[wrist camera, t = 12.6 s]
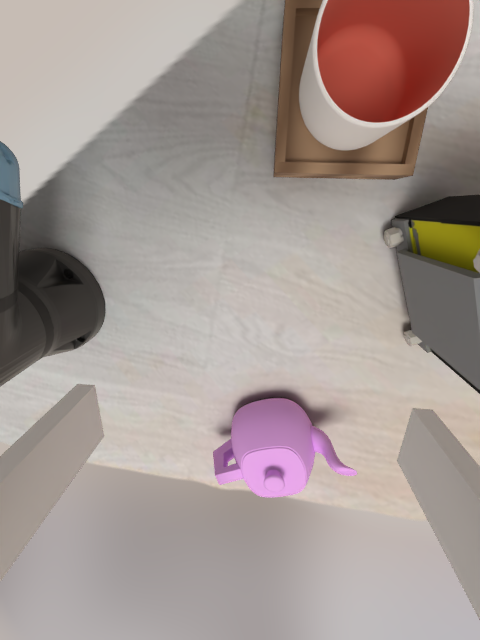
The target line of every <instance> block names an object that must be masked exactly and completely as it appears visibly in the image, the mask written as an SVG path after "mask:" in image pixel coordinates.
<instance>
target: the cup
mask: <svg viewBox="0 0 480 640" xmlns="http://www.w3.org/2000/svg"><path fill="white" fill-rule="evenodd" d="M472 22H473V0H323V1H322V4H321V6H320V9H319V12H318V15H317V19H316V23H315V26H314V30H313V34H312V38H311V42H310V45H309V49H308V53H307V57H306V60H305V64H304V68H303V72H302V76H301V80H300V87H299V104H300V110H301V114H302V118H303V120H304V123H305V125H306V127H307V129H308V130H309V132H310V133H311V134H312V135H313V137H314V138H315V139H317V140H318V141H319V142H320V143H322V144H323V145H325V146H327V147H329V148H332V149H336V150H355V149H359V148H362V147H365V146H367V145H369V144H371V143H373V142H375V141H376V140H378V139H379V138H381V137H383V136H384V135H386V134H387V133H389V132H391V131H392V130H394V129H395V128H397V127H399V126H400V125H402V124H403V123H405V122H407V121H408V120H410V119H411V118H413V117H415V116H416V115H418V114H419V113H421V112H422V111H423V110H425V109H426V108H427V107H428V106H429V105H431V104H432V103H433V102H434V101H435V100H436V99H437V98H438V97H439V95H440V94H441V93H442V92H443V91H444V90H445V88H446V87H447V86H448V84H449V83H450V81H451V80H452V78H453V77H454V75H455V73H456V71H457V69H458V67H459V65H460V63H461V61H462V59H463V57H464V54H465V52H466V48H467V45H468V42H469V38H470V34H471V29H472Z"/></svg>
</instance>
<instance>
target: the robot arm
mask: <svg viewBox="0 0 480 640" xmlns="http://www.w3.org/2000/svg"><path fill="white" fill-rule="evenodd" d="M21 208H23V202H22V201H21V198H20V177H19V164H18V161H17V159H16V157H15V155H14V154H13V152H12V151H11V150H10V149H9V148H8V147H7V146H6V145H5V144H3V143H2V142H1V141H0V386H2V385H3V384H4V383H6V382H7V381H9V380H10V379H12V378H13V377H15V376H16V375H18V374H19V373H20V372H22V371H23V370H25V369H26V368H28V367H29V366H31V365H32V364H33V363H35V362H36V361H38V360H39V359H41V358H42V357H46V356H50V355H55V354H59V353H63V352H67V351H71V350H74V349H76V348H79V347H81V346H82V345H84V344H85V343H86V342H88V341H89V340H91V339H92V338H93V337H94V336H95V335H96V334H97V333H98V332H99V330H100V328H101V326H102V324H103V321H104V316H105V304H104V298H103V295H102V292H101V289H100V287H99V285H98V283H97V281H96V280H95V278H94V277H93V276H92V274H91V273H90V272H89V271H88V270H87V268H86V267H85V266H83V265H82V264H81V263H80V262H79V261H77V260H76V259H75V258H73V257H71V256H70V255H68V254H66V253H63V252H61V251H58V250H54V249H49V248H35V249H29V250H24V251H20V252H19V238H20V216H21ZM103 437H104V432H103V427H102V422H101V416H100V411H99V406H98V400H97V395H96V390H95V385H83V384H77V385H76V386H75V387H74V388H73V389H72V390H71V391H70V392H69V393H68V394H66V395H65V396H64V397H63V398H62V399H61V400H60V401H59V402H58V403H57V404H56V405H55V406H54V407H53V408H51V409H50V410H49V411H48V412H47V413H46V414H45V415H44V416H43V417H42V418H41V419H40V420H39V421H38V422H36V423H35V424H34V425H33V426H32V427H31V428H30V429H29V430H28V431H27V432H26V433H25V434H24V435H23V436H21V437H20V438H19V439H18V440H17V441H16V442H15V443H14V444H13V445H12V446H11V447H10V448H9V449H8V450H6V451H5V452H4V454H2V455H1V456H0V582H1V580H2V579H3V577H4V576H5V574H6V573H7V572H8V570H9V569H10V567H11V566H12V565H13V563H14V562H15V561H16V559H17V558H18V556H19V555H20V553H21V552H22V551H23V549H24V548H25V546H26V545H27V544H28V542H29V541H30V539H31V538H32V537H33V535H34V534H35V532H36V531H37V530H38V528H39V527H40V525H41V524H42V522H43V521H44V520H45V518H46V517H47V516H48V514H49V513H50V511H51V510H52V508H53V507H54V506H55V504H56V503H57V501H58V500H59V499H60V497H61V496H62V494H63V493H64V492H65V490H66V489H67V487H68V486H69V484H70V483H71V482H72V480H73V479H74V478H75V476H76V474H77V473H78V472H79V470H80V469H81V467H82V466H83V465H84V463H85V462H86V461H87V459H88V458H89V456H90V455H91V454H92V452H93V451H94V449H95V448H96V447H97V445H98V444H99V442H100V441H101V440H102V438H103ZM397 462H398V464H399V465H400V467H401V469H402V471H403V473H404V475H405V477H406V479H407V481H408V483H409V485H410V487H411V489H412V491H413V492H414V494H415V496H416V498H417V500H418V502H419V504H420V506H421V508H422V510H423V512H424V514H425V516H426V517H427V519H428V521H429V523H430V525H431V527H432V529H433V531H434V533H435V535H436V537H437V539H438V541H439V543H440V544H441V546H442V548H443V550H444V552H445V554H446V556H447V558H448V560H449V562H450V564H451V566H452V568H453V569H454V571H455V573H456V575H457V577H458V579H459V581H460V583H461V585H462V587H463V589H464V591H465V592H466V595H467V596H468V598H469V600H470V602H471V604H472V606H473V608H474V610H475V612H476V614H477V616H478V617H479V620H480V466H479V465H478V464H477V463H476V462H475V460H474V459H473V458H472V457H471V456H470V454H469V453H468V452H467V451H466V450H465V448H464V447H463V446H462V445H461V443H460V442H459V441H458V440H457V439H456V437H455V436H454V435H453V434H452V433H451V431H450V430H449V429H448V428H447V427H446V425H445V424H444V423H443V422H442V420H441V419H440V418H439V417H438V416H437V414H436V413H435V412H434V411H433V410H428V409H415V408H413V409H412V412H411V415H410V419H409V422H408V425H407V429H406V432H405V435H404V439H403V442H402V446H401V449H400V452H399V456H398V459H397Z"/></svg>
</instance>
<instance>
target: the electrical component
mask: <svg viewBox="0 0 480 640" xmlns="http://www.w3.org/2000/svg"><path fill="white" fill-rule="evenodd" d="M395 218H396V219H393V220H391V222H392V227H393V228H390V229H388V230H386V231H385V232H384V241H385V244H386V245H387V246H388V247H389V248H393V247H396V248H397V257H398V262H399V267H400V272H401V277H402V282H403V287H404V293H405V298H406V303H407V308H408V313H409V318H410V323H411V328H412V330H409V331H406V332H404V338H405V341H406V342H407V344H408V345H409V346H412V345H416V344H418V345H419V346H420V347H422V348H423V349H424V350H425V351H426V352H427V353H428V352H432V353H433V354H435V355H436V356H437V357H438V358H439V359H440V360H441V361H443V362H444V363H445V364H446V365H447V366H448V367H449V368H451V369H452V370H453V371H454V372H455V373H456V374H458V375H459V376H460V377H461V378H462V379H463V380H464V381H466V382H467V383H468V384H469V385H470V386H471V387H472V388H474V389H475V390H476V391H477V392H478V393H479V394H480V195H468V196H453V197H447V198H445V199H442V200H439V201H436V202H433V203H431V204H428V205H425V206H422V207H420V208H417V209H414V210H411V211H409V212H406V213H403V214H400V215H398V216H395Z"/></svg>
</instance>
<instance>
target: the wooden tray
mask: <svg viewBox="0 0 480 640" xmlns="http://www.w3.org/2000/svg"><path fill="white" fill-rule="evenodd" d="M322 1H323V0H285V9H284V20H283V34H282V50H281V66H280V82H279V98H278V114H277V130H276V146H275V162H274V177H299V178H346V179H393V180H395V179H399V178H404V177H408V176H413V172H414V168H415V163H416V159H417V154H418V150H419V145H420V141H421V136H422V132H423V127H424V123H425V118H426V114H427V109H428V107H427V108H426V109H425V110H423V111H422V112H421V113H419V114H418V115H416V116H415V117H413V118H411V119H410V120H408V121H407V122H405V123H403V124H402V125H400V126H399V127H397V128H395V129H394V130H392V131H391V132H389V133H387V134H386V135H384V136H383V137H381V138H379V139H378V140H376V141H375V142H373V143H371V144H369V145H367V146H365V147H362V148H359V149H355V150H336V149H332V148H329V147H327V146H325V145H323V144H322V143H320V142H319V141H318V140H317V139H315V138H314V137H313V135H312V134H311V133H310V132H309V130H308V129H307V127H306V125H305V123H304V120H303V118H302V114H301V110H300V104H299V87H300V80H301V76H302V72H303V68H304V64H305V60H306V57H307V53H308V49H309V45H310V42H311V38H312V34H313V30H314V26H315V23H316V19H317V15H318V12H319V9H320V6H321V4H322Z"/></svg>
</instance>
